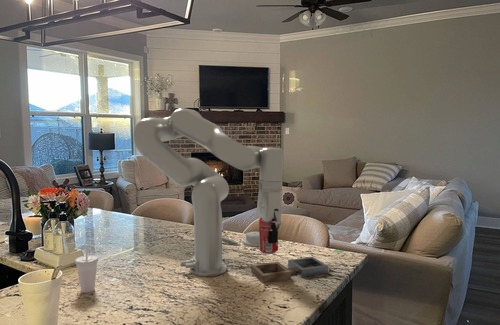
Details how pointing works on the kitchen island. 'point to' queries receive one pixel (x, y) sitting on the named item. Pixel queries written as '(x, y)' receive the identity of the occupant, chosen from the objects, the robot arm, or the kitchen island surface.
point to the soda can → (266, 238)
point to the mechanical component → (251, 239)
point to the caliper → (230, 241)
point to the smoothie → (87, 271)
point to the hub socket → (297, 264)
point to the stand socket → (270, 277)
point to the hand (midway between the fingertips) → (268, 239)
